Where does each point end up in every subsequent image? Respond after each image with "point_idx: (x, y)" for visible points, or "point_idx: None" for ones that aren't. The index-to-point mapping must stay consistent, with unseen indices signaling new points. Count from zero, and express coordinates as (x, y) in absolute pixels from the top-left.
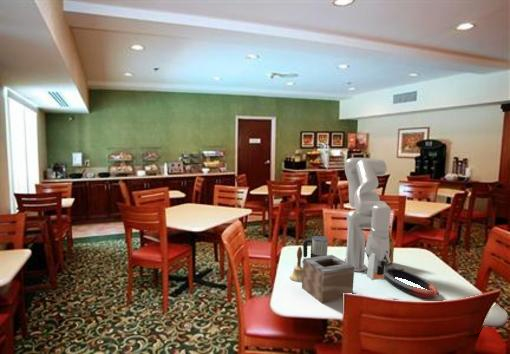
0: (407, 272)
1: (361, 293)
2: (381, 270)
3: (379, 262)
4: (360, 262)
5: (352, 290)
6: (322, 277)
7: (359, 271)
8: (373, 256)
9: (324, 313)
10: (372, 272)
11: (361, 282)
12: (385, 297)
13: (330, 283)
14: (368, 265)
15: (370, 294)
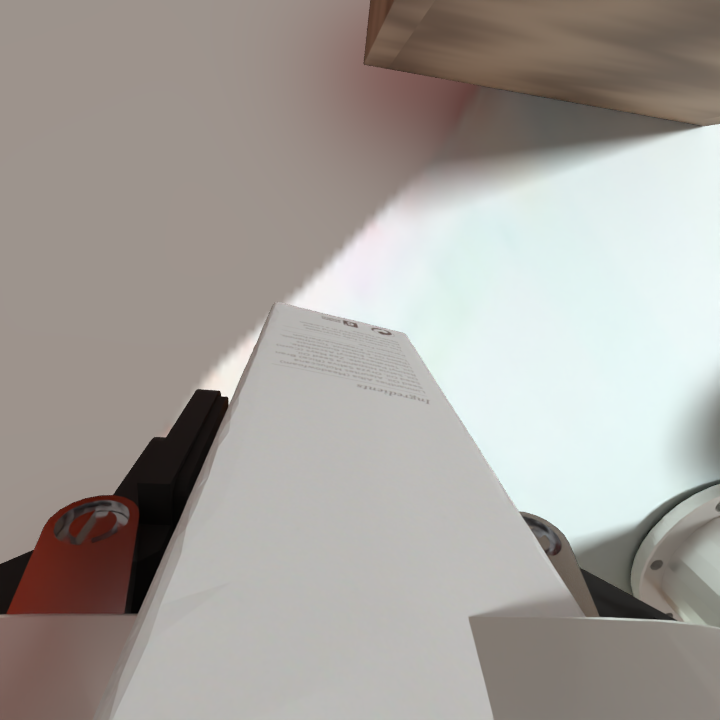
0: None
1: (381, 238)
2: (134, 475)
3: (87, 592)
4: (714, 606)
5: (376, 31)
6: None
7: (649, 533)
8: (228, 676)
9: None
10: (274, 337)
11: (525, 410)
12: (225, 377)
13: None
14: (433, 403)
15: (326, 301)
